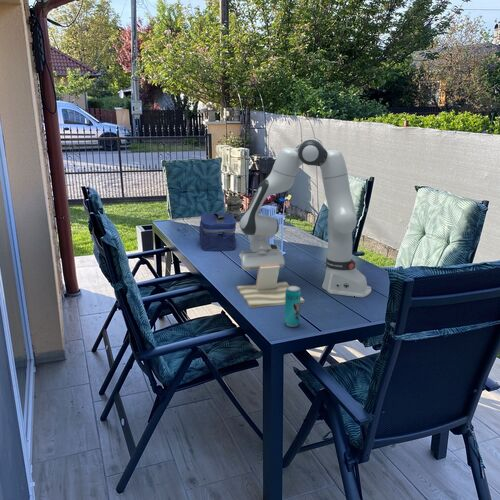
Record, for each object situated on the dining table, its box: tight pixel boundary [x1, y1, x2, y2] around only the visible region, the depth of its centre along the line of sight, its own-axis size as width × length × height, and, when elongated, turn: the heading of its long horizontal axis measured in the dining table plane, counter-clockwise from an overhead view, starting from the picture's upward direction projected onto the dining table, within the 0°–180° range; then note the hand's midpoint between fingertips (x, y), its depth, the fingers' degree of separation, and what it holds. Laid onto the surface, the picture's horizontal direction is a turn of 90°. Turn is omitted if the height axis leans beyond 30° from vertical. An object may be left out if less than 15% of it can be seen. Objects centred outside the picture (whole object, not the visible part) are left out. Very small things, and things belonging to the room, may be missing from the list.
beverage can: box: [284, 285, 302, 328], centre depth 186 cm, size 6×6×15 cm
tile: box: [255, 263, 281, 290], centre depth 218 cm, size 9×2×13 cm, turn 105°
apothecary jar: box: [224, 195, 242, 223], centre depth 362 cm, size 12×12×18 cm
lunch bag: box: [198, 212, 237, 252], centre depth 293 cm, size 31×21×20 cm
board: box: [236, 281, 305, 309], centre depth 217 cm, size 24×24×1 cm
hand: (265, 276), depth 221 cm, fingers closed
